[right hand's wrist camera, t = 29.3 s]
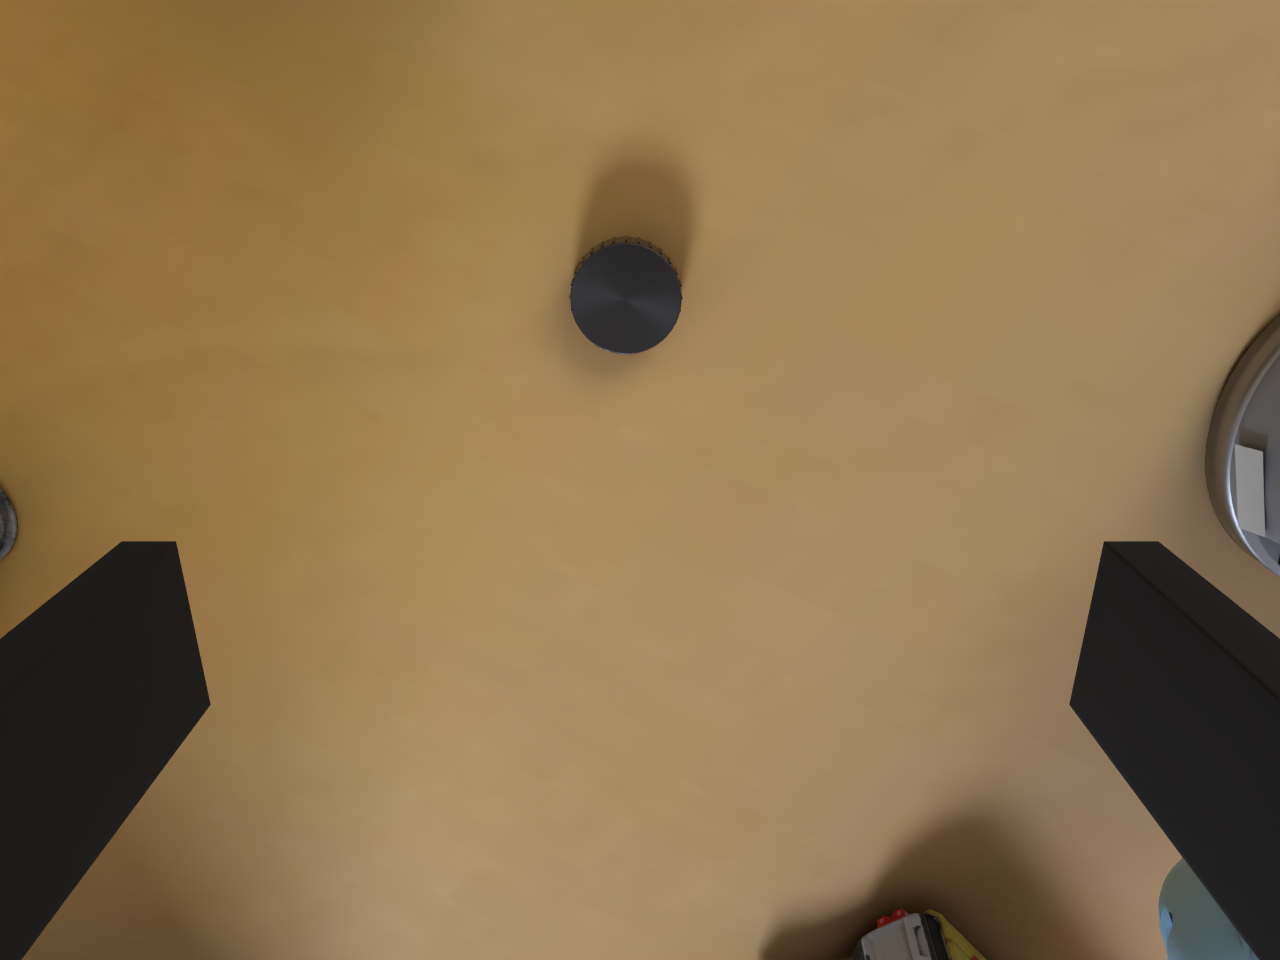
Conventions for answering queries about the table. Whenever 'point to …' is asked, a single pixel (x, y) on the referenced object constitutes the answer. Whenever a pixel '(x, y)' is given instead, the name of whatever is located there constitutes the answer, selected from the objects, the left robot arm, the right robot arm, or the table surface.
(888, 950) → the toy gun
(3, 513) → the salt shaker
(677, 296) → the cap
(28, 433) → the table surface
